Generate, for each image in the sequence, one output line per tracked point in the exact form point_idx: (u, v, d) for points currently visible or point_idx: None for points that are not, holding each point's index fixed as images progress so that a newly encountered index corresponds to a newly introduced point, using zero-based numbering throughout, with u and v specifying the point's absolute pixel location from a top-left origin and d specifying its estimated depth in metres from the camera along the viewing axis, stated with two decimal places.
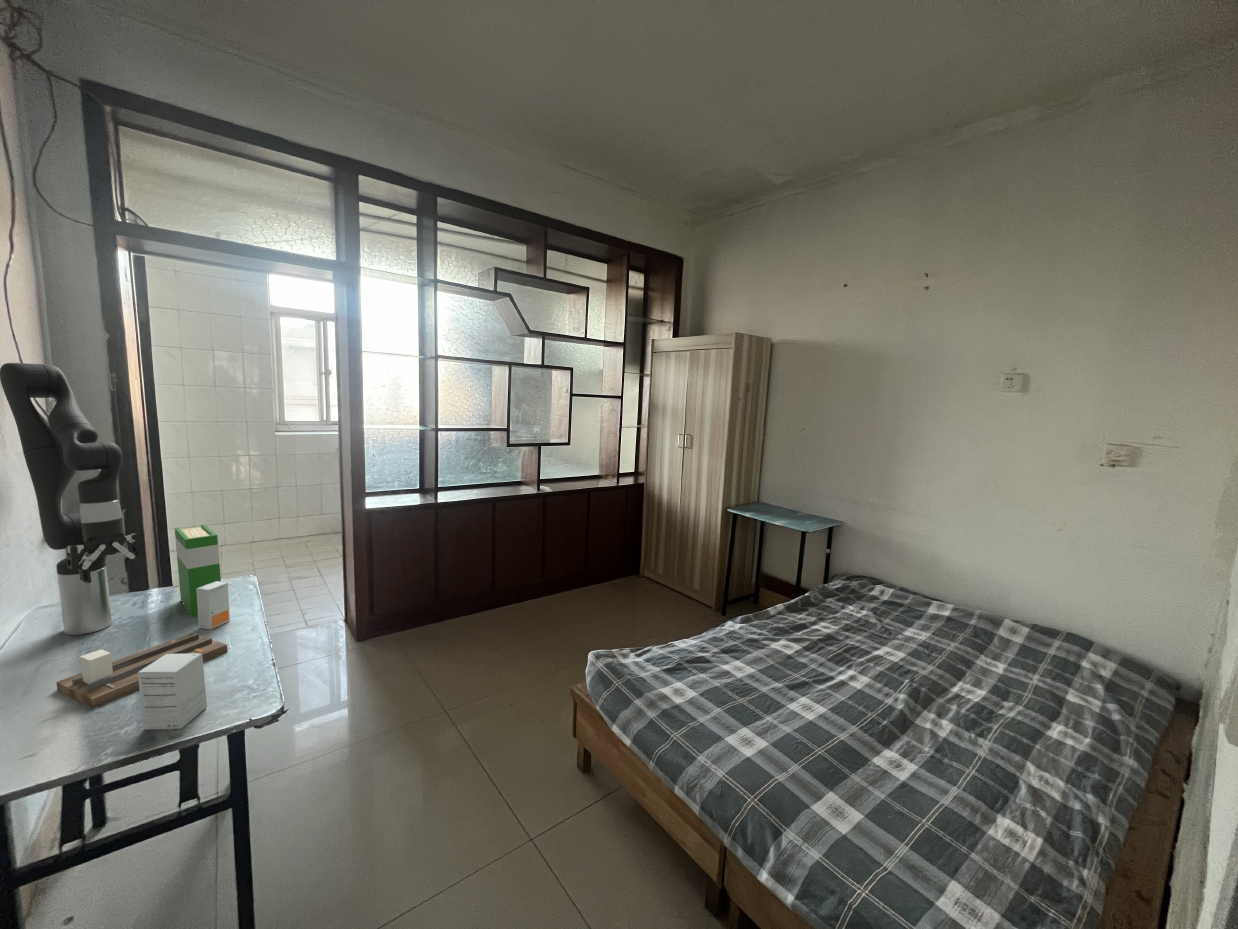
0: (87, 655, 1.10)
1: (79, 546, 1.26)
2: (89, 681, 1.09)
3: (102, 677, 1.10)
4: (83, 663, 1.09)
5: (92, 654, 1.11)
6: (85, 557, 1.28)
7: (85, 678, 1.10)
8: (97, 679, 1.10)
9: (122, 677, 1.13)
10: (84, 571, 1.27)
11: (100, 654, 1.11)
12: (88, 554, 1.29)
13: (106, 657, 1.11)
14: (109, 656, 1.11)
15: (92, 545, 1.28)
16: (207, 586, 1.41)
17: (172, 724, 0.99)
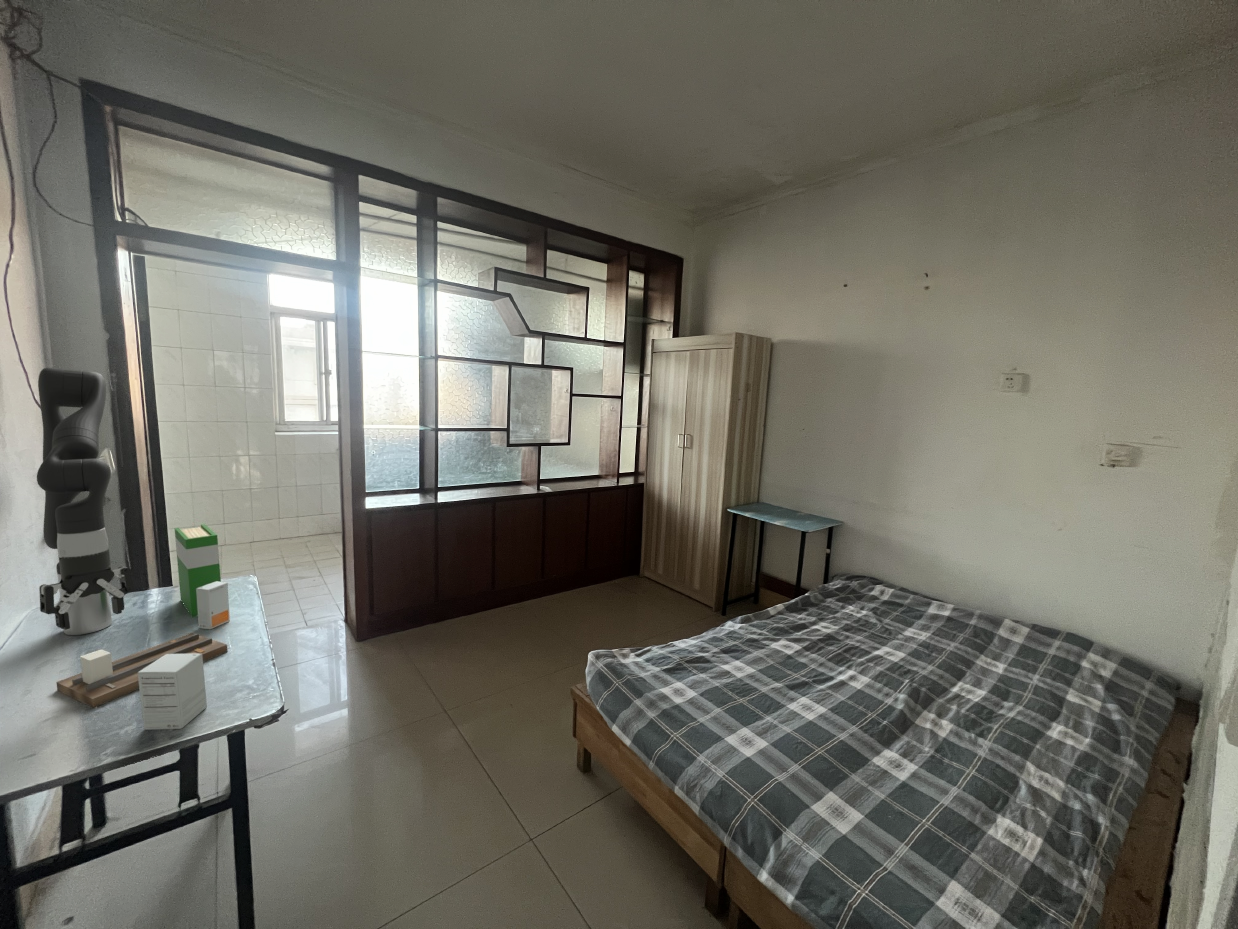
0: (87, 655, 1.10)
1: (55, 585, 1.04)
2: (89, 681, 1.09)
3: (102, 677, 1.10)
4: (83, 663, 1.09)
5: (92, 654, 1.11)
6: (63, 598, 1.05)
7: (85, 678, 1.10)
8: (97, 679, 1.10)
9: (122, 677, 1.13)
10: (61, 615, 1.04)
11: (100, 654, 1.11)
12: (67, 594, 1.06)
13: (106, 657, 1.11)
14: (109, 656, 1.11)
15: (72, 584, 1.05)
16: (207, 586, 1.41)
17: (172, 724, 0.99)
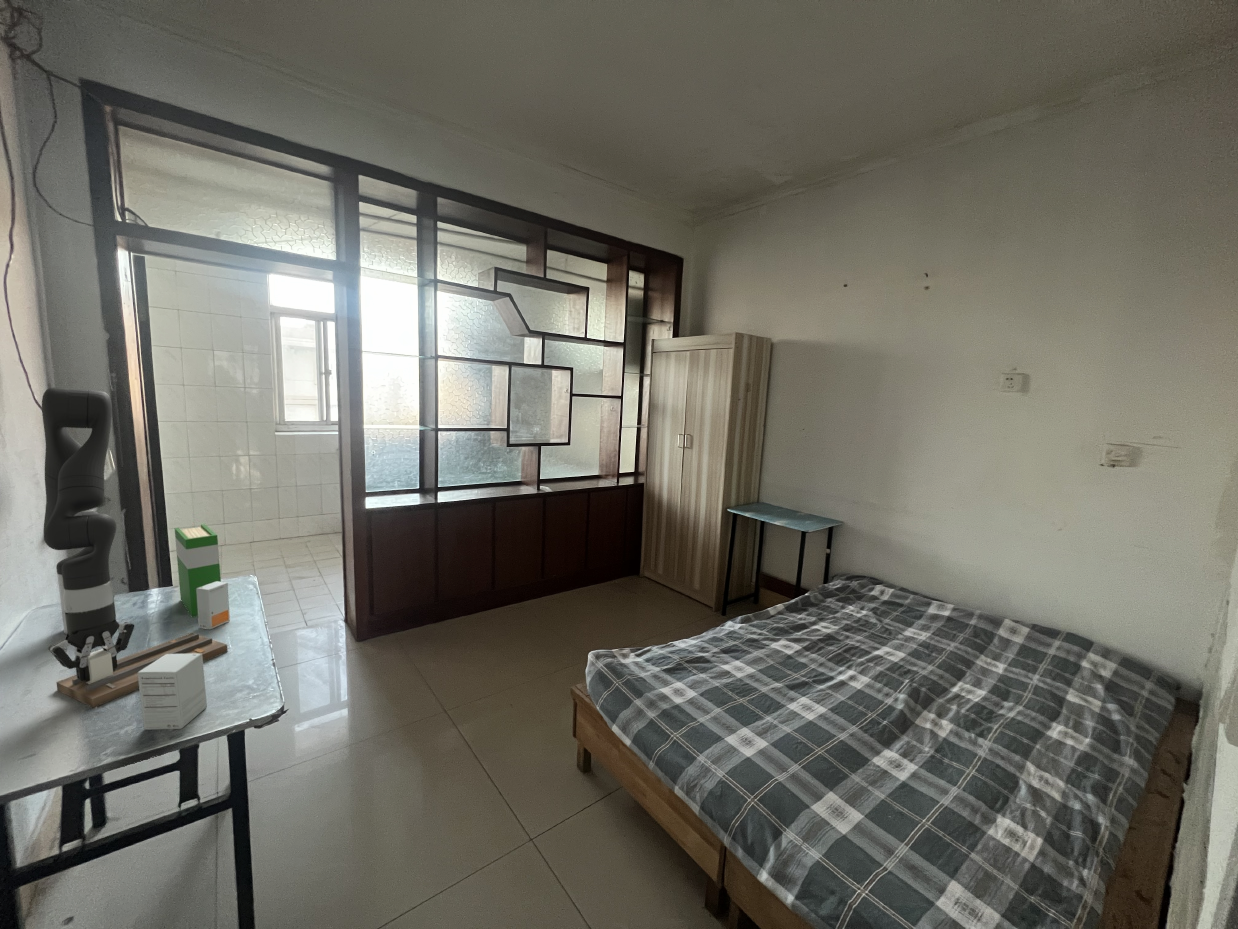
0: None
1: (63, 644, 1.05)
2: (89, 681, 1.09)
3: (102, 677, 1.10)
4: None
5: (92, 654, 1.11)
6: (77, 653, 1.08)
7: None
8: (97, 679, 1.10)
9: (122, 677, 1.13)
10: (82, 669, 1.08)
11: (100, 654, 1.11)
12: None
13: (106, 657, 1.11)
14: (109, 656, 1.11)
15: (77, 641, 1.07)
16: (207, 586, 1.41)
17: (172, 724, 0.99)
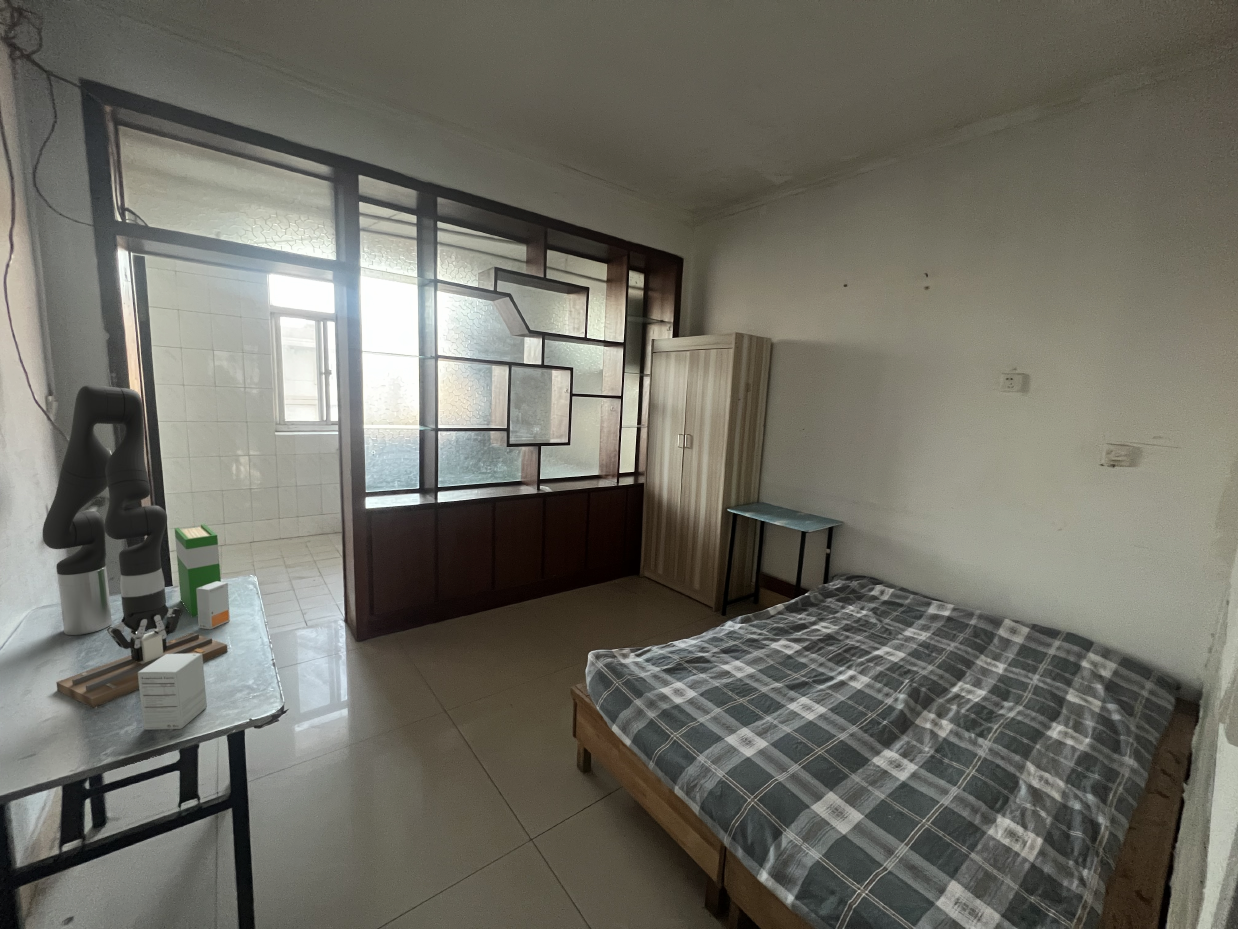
0: None
1: (120, 626, 1.14)
2: (142, 661, 1.18)
3: (154, 657, 1.19)
4: None
5: (144, 636, 1.19)
6: (132, 635, 1.17)
7: None
8: (150, 659, 1.18)
9: (122, 677, 1.13)
10: (136, 649, 1.17)
11: (151, 636, 1.19)
12: None
13: (157, 639, 1.19)
14: (160, 638, 1.20)
15: (132, 624, 1.15)
16: (207, 586, 1.41)
17: (172, 724, 0.99)
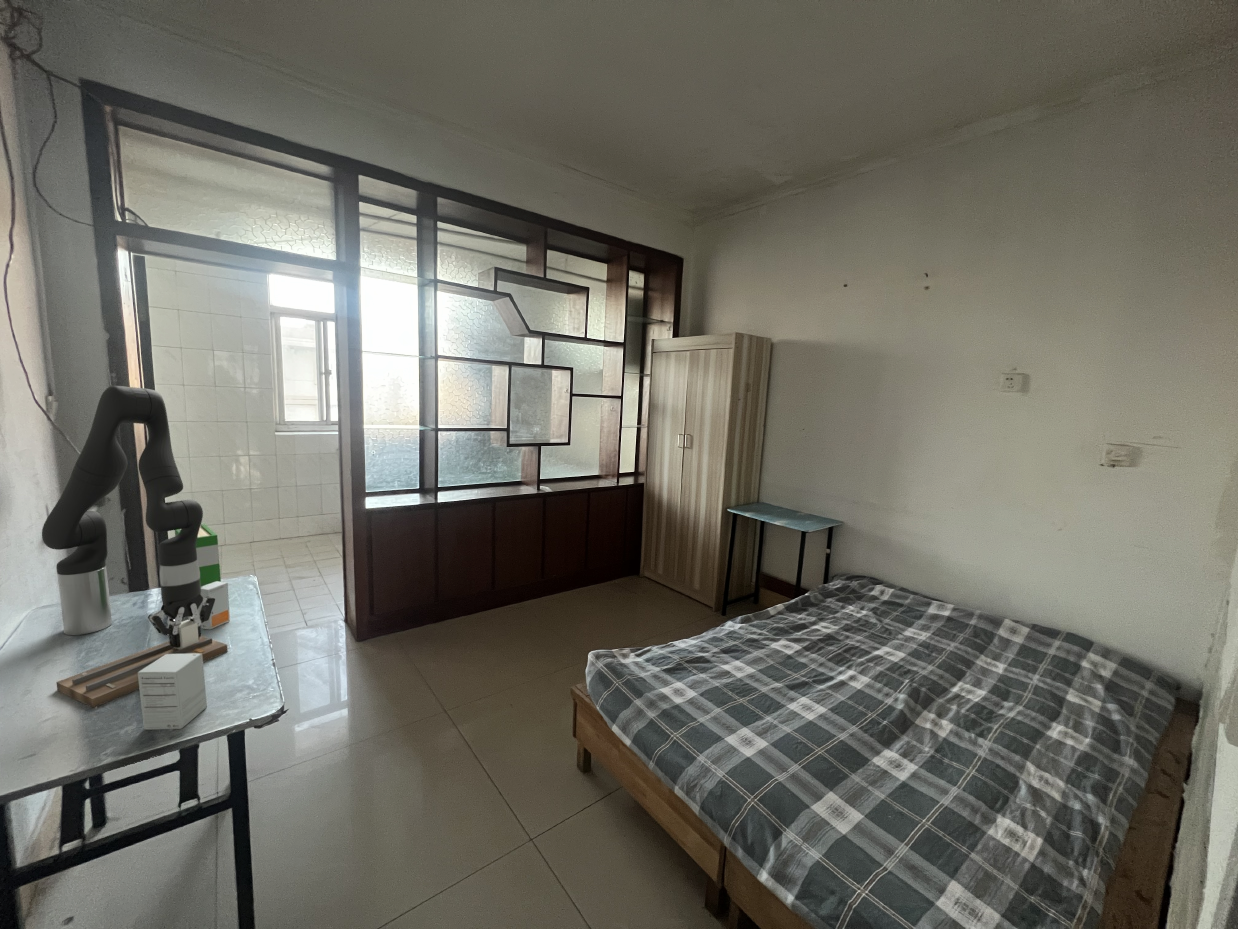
0: None
1: (160, 613, 1.21)
2: (179, 647, 1.25)
3: (190, 643, 1.26)
4: None
5: (181, 624, 1.26)
6: (170, 622, 1.24)
7: None
8: (186, 645, 1.25)
9: (122, 677, 1.13)
10: (174, 636, 1.24)
11: (188, 624, 1.26)
12: None
13: (193, 626, 1.26)
14: (196, 626, 1.27)
15: (171, 611, 1.22)
16: (207, 586, 1.41)
17: (172, 724, 0.99)
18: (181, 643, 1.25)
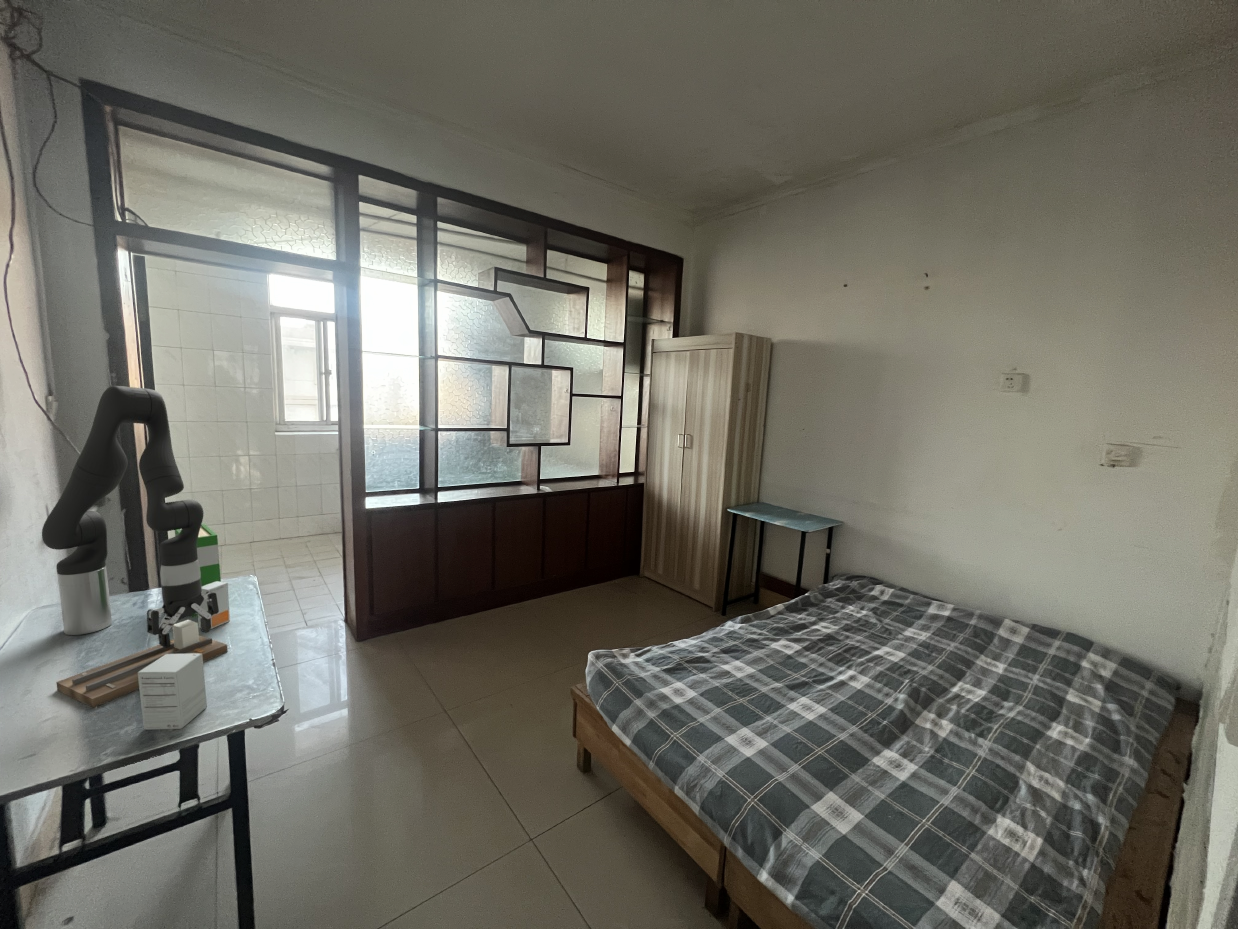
0: (178, 624, 1.26)
1: (160, 610, 1.21)
2: (180, 647, 1.25)
3: (191, 643, 1.26)
4: (175, 631, 1.25)
5: (182, 623, 1.26)
6: (165, 620, 1.23)
7: (176, 644, 1.26)
8: (187, 645, 1.25)
9: (122, 677, 1.13)
10: (164, 636, 1.22)
11: (188, 623, 1.26)
12: (167, 617, 1.24)
13: (194, 626, 1.27)
14: (196, 625, 1.27)
15: (172, 608, 1.23)
16: (207, 586, 1.41)
17: (172, 724, 0.99)
18: (182, 643, 1.25)
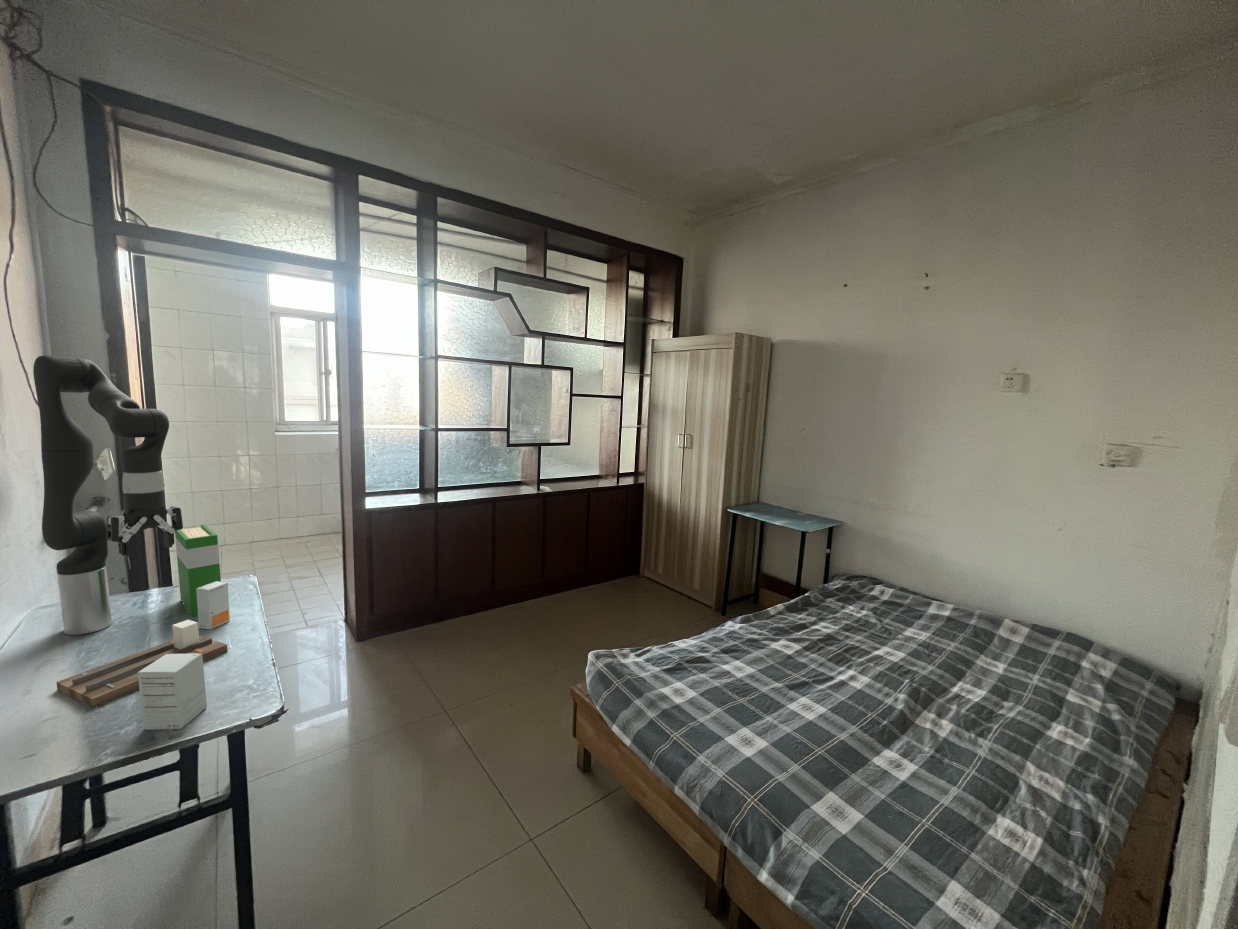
0: (178, 624, 1.26)
1: (120, 517, 1.19)
2: (180, 647, 1.25)
3: (191, 643, 1.26)
4: (175, 631, 1.25)
5: (182, 623, 1.26)
6: (125, 529, 1.21)
7: (176, 644, 1.26)
8: (187, 645, 1.25)
9: (122, 677, 1.13)
10: (124, 544, 1.20)
11: (188, 623, 1.26)
12: (128, 526, 1.22)
13: (194, 626, 1.27)
14: (196, 625, 1.27)
15: (133, 517, 1.21)
16: (207, 586, 1.41)
17: (172, 724, 0.99)
18: (182, 643, 1.25)
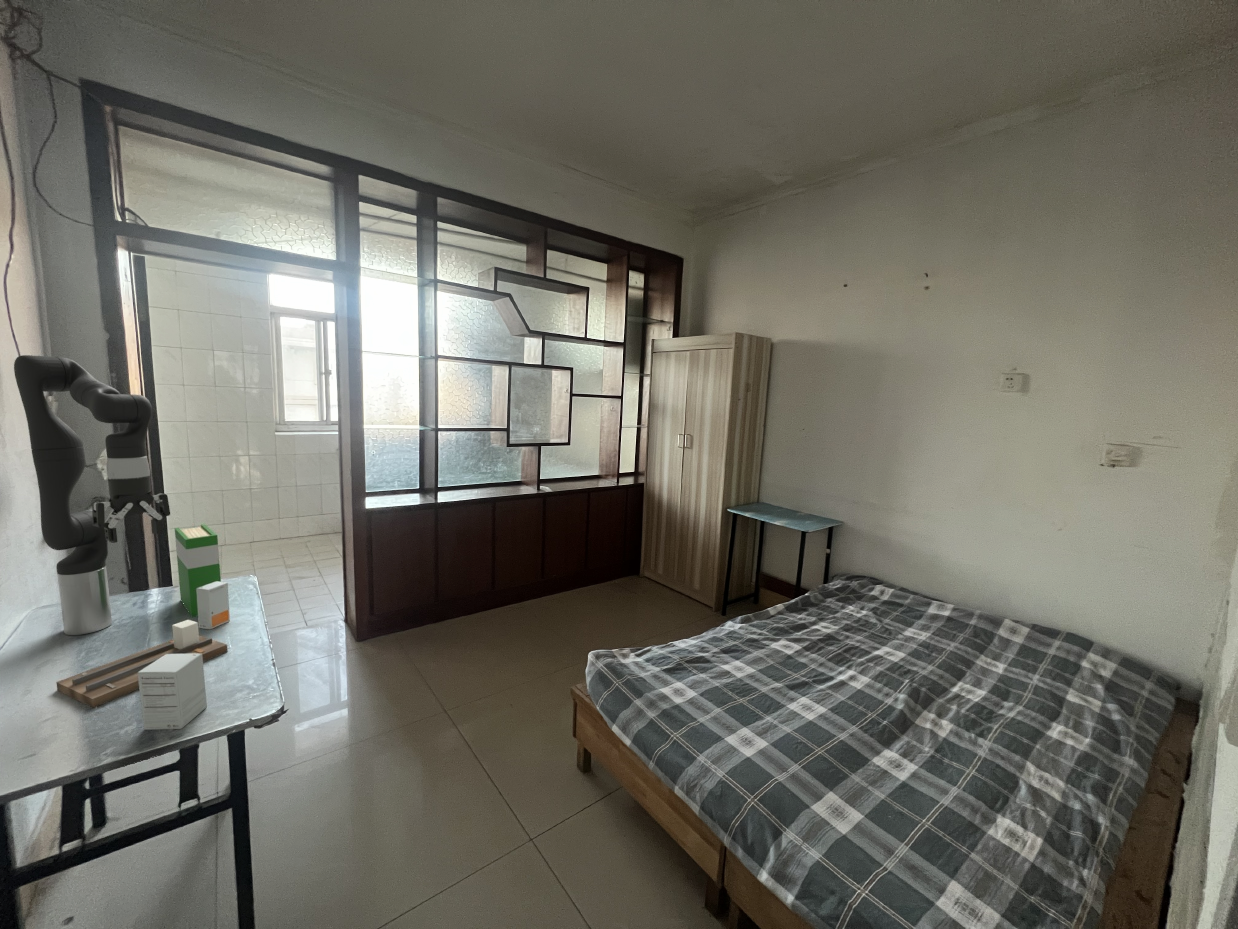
0: (178, 624, 1.26)
1: (106, 503, 1.19)
2: (180, 647, 1.25)
3: (191, 643, 1.26)
4: (175, 631, 1.25)
5: (182, 623, 1.26)
6: (111, 515, 1.21)
7: (176, 644, 1.26)
8: (187, 645, 1.25)
9: (122, 677, 1.13)
10: (110, 530, 1.20)
11: (188, 623, 1.26)
12: (114, 512, 1.22)
13: (194, 626, 1.27)
14: (196, 625, 1.27)
15: (119, 503, 1.21)
16: (207, 586, 1.41)
17: (172, 724, 0.99)
18: (182, 643, 1.25)
